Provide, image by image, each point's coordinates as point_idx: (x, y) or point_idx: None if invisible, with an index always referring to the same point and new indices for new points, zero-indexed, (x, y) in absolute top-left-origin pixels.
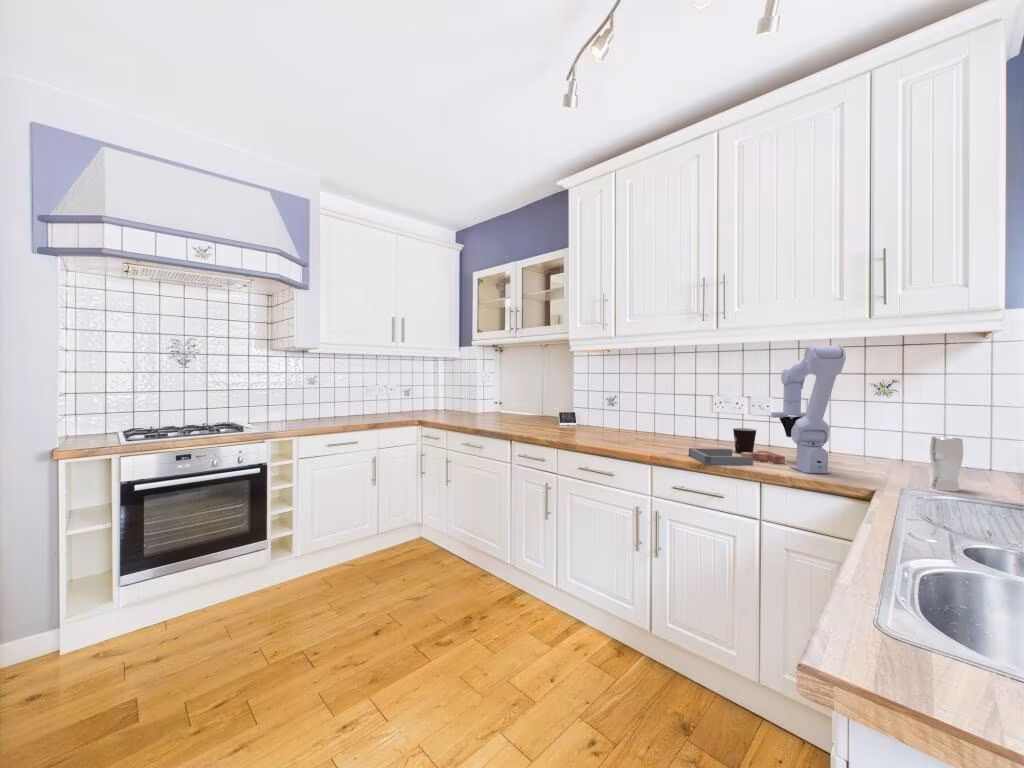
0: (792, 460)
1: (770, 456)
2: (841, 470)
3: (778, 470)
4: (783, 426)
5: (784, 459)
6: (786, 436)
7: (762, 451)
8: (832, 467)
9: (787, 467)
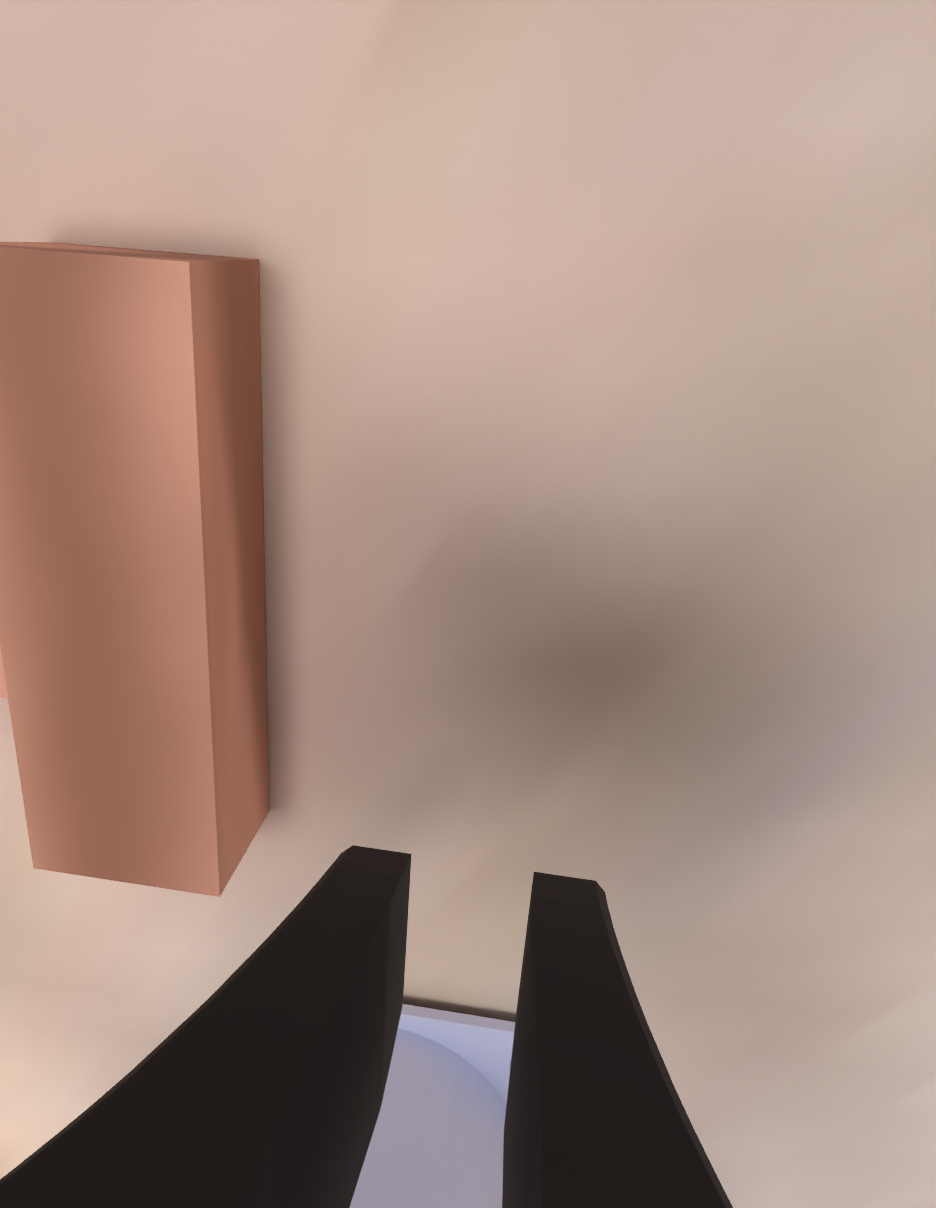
0: (656, 494)
1: (32, 762)
2: (829, 1163)
3: (9, 1068)
4: (42, 1150)
5: (231, 862)
6: (342, 863)
7: (24, 364)
8: (885, 1023)
9: (204, 958)
